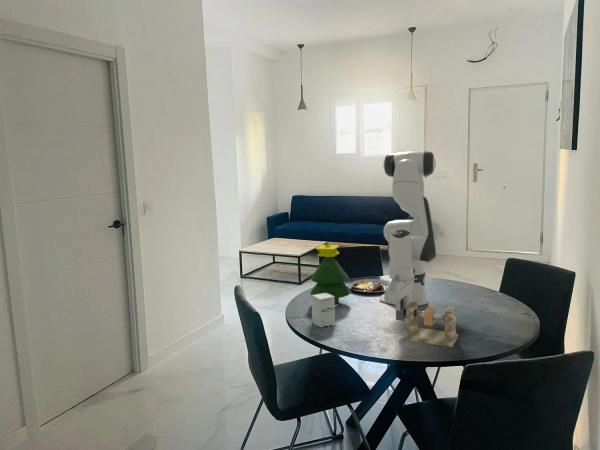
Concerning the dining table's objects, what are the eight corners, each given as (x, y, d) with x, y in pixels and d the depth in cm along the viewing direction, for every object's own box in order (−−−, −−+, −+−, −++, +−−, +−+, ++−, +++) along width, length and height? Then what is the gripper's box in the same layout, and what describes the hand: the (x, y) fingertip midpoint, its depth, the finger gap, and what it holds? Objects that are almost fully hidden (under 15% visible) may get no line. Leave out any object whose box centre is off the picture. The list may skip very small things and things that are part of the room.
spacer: (423, 324, 175) (423, 311, 175) (428, 320, 180) (428, 306, 179) (431, 326, 174) (431, 312, 173) (435, 321, 178) (435, 307, 178)
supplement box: (320, 329, 192) (319, 299, 190) (311, 323, 199) (310, 294, 197) (335, 325, 195) (334, 296, 194) (326, 320, 202) (325, 291, 200)
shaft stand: (403, 339, 178) (403, 307, 176) (411, 330, 187) (411, 299, 185) (451, 347, 169) (452, 314, 167) (458, 337, 177) (458, 305, 175)
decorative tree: (355, 300, 227) (354, 239, 223) (345, 313, 210) (343, 247, 205) (318, 297, 234) (316, 238, 230) (305, 309, 217) (302, 246, 212)
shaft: (395, 319, 182) (395, 295, 180) (399, 316, 185) (399, 292, 184) (453, 328, 170) (454, 302, 169) (456, 325, 174) (456, 299, 172)
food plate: (382, 297, 229) (382, 290, 228) (340, 292, 241) (340, 286, 241) (400, 286, 250) (400, 279, 249) (360, 281, 262) (360, 275, 262)
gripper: (399, 280, 170) (400, 317, 172) (416, 267, 187) (417, 301, 189) (383, 278, 173) (383, 314, 175) (401, 266, 190) (402, 299, 192)
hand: (401, 307), depth 182 cm, fingers open, 5 cm apart
